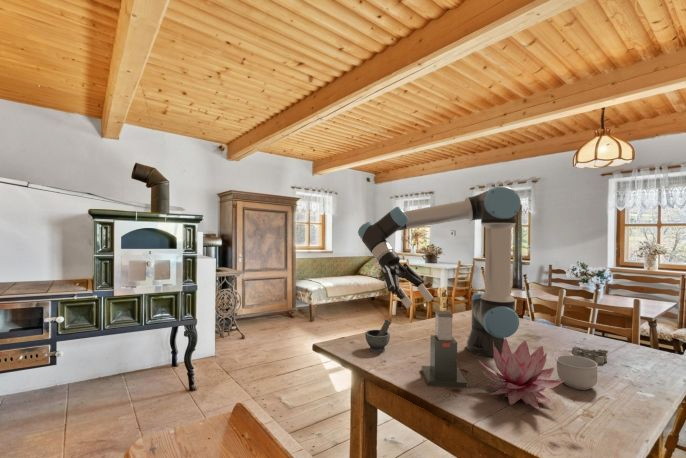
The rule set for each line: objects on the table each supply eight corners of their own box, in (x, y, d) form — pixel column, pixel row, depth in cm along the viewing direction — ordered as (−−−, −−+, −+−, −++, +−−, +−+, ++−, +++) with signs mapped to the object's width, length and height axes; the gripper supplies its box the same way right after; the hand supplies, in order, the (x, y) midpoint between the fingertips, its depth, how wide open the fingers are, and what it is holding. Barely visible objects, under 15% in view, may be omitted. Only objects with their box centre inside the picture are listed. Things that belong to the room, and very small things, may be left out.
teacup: (599, 397, 99) (599, 370, 99) (555, 387, 105) (556, 362, 105) (594, 379, 111) (594, 355, 111) (555, 371, 117) (555, 348, 117)
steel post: (448, 370, 113) (449, 311, 113) (451, 376, 108) (452, 314, 108) (434, 370, 113) (435, 310, 113) (437, 376, 108) (438, 314, 108)
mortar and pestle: (372, 356, 129) (373, 324, 129) (360, 348, 137) (361, 318, 137) (396, 351, 134) (397, 321, 134) (384, 344, 142) (384, 316, 142)
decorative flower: (504, 375, 113) (505, 330, 113) (575, 403, 95) (576, 350, 95) (463, 391, 102) (464, 341, 102) (535, 427, 84) (536, 366, 84)
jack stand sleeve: (456, 371, 116) (457, 333, 116) (467, 387, 104) (467, 345, 104) (421, 369, 117) (421, 332, 117) (428, 385, 105) (428, 344, 105)
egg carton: (609, 361, 127) (609, 351, 127) (601, 365, 123) (601, 354, 123) (577, 352, 136) (577, 342, 136) (569, 356, 132) (569, 345, 132)
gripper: (399, 261, 137) (431, 303, 127) (358, 265, 119) (393, 315, 109) (410, 248, 133) (445, 291, 123) (370, 251, 115) (407, 302, 105)
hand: (420, 303), depth 116 cm, fingers open, 13 cm apart
